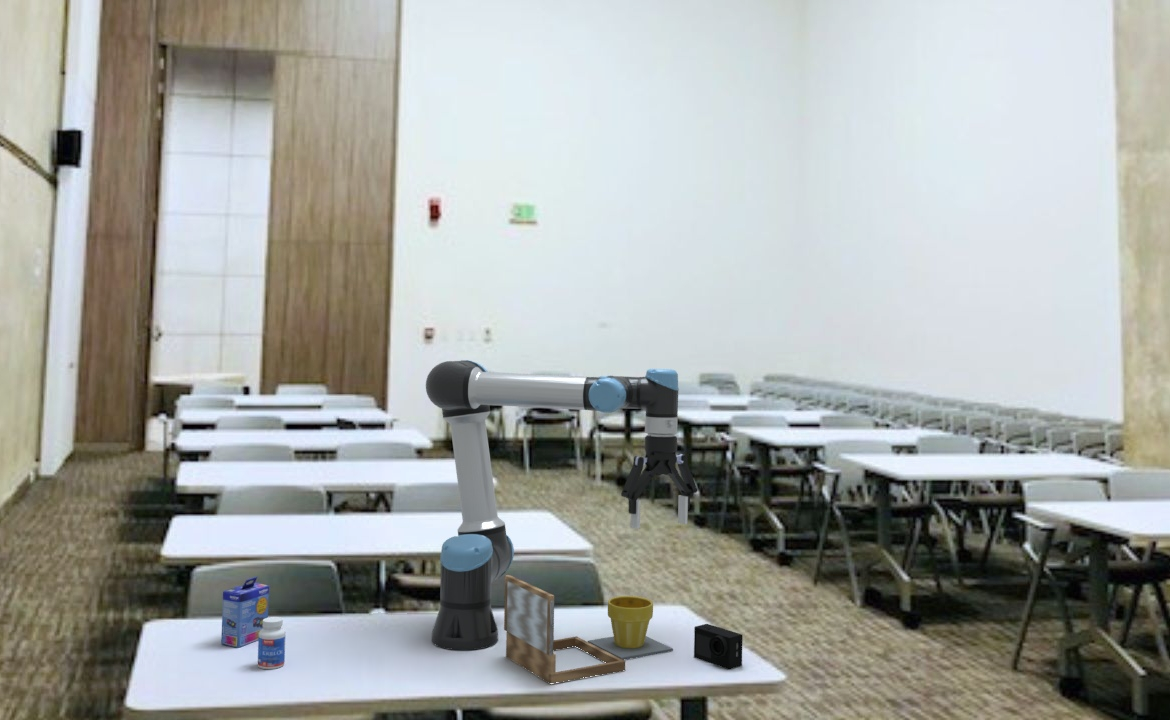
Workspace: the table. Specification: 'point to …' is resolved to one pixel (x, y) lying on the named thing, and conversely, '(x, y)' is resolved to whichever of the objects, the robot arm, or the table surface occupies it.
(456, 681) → the table surface
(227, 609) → the ink cartridge box
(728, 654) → the digital camera
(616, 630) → the plant pot
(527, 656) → the cold frame
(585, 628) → the table surface
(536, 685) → the table surface
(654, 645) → the mat
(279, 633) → the pill bottle
